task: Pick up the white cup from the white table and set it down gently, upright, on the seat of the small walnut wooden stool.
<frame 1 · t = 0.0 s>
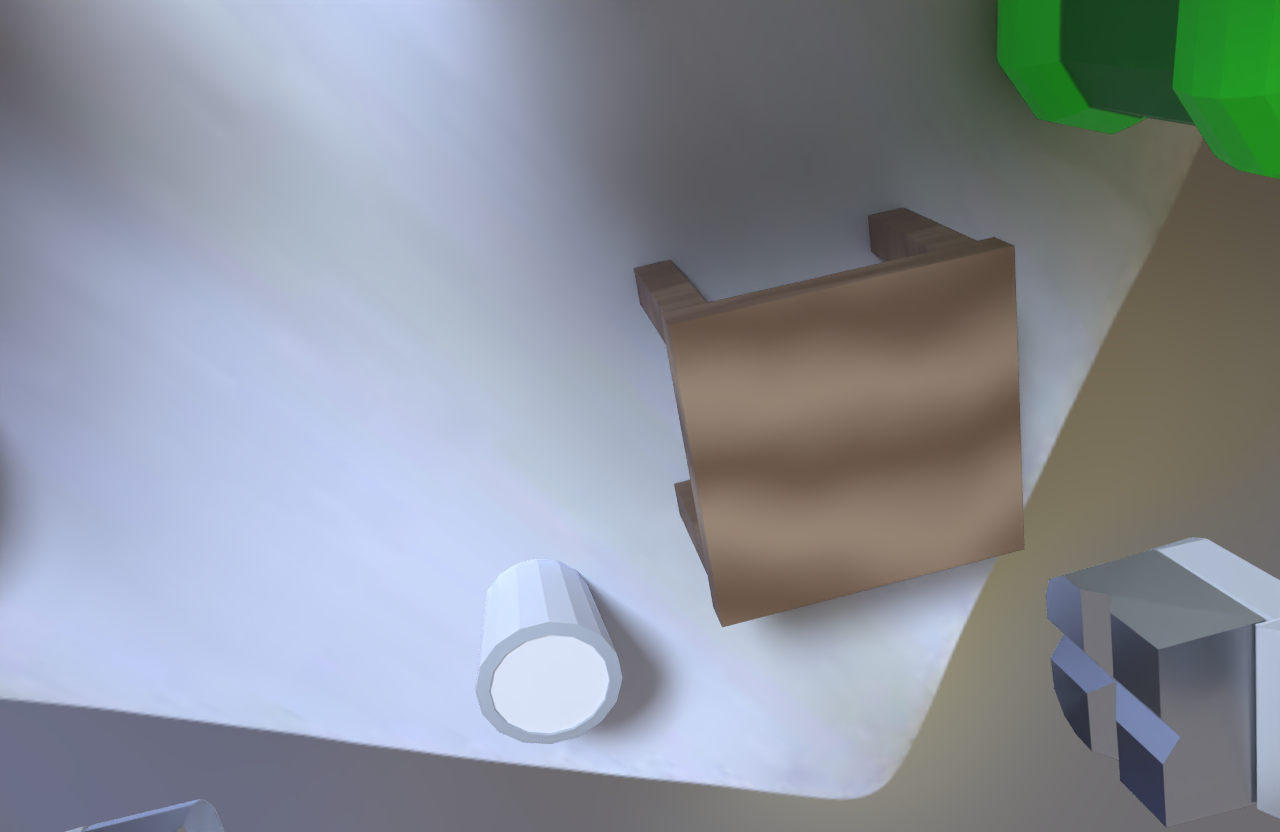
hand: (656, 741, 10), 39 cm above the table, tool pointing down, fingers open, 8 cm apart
plastic bottle: (1059, 13, 47), on the table
white cup: (537, 603, 54), on the table
wooden stool: (787, 366, 51), on the table
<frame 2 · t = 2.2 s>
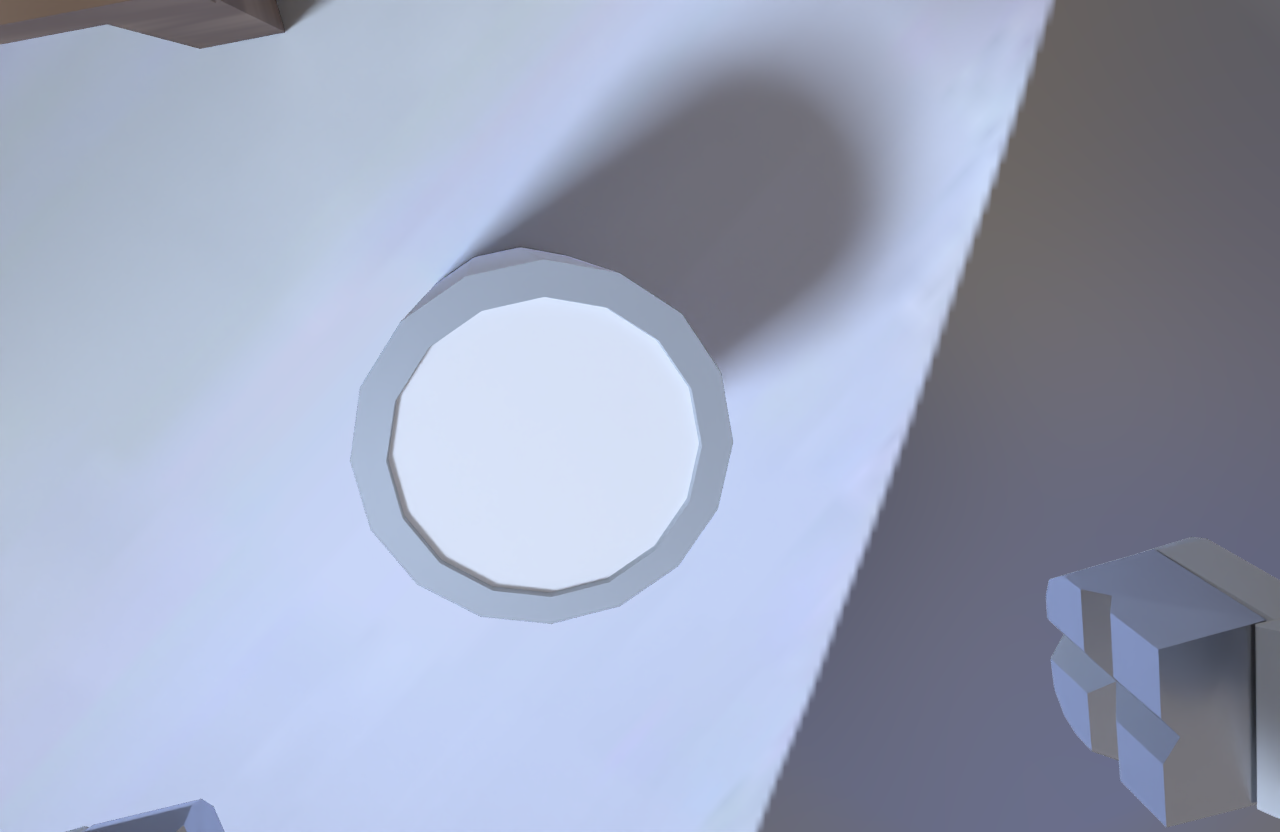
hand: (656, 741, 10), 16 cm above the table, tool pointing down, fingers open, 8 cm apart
white cup: (523, 361, 25), on the table
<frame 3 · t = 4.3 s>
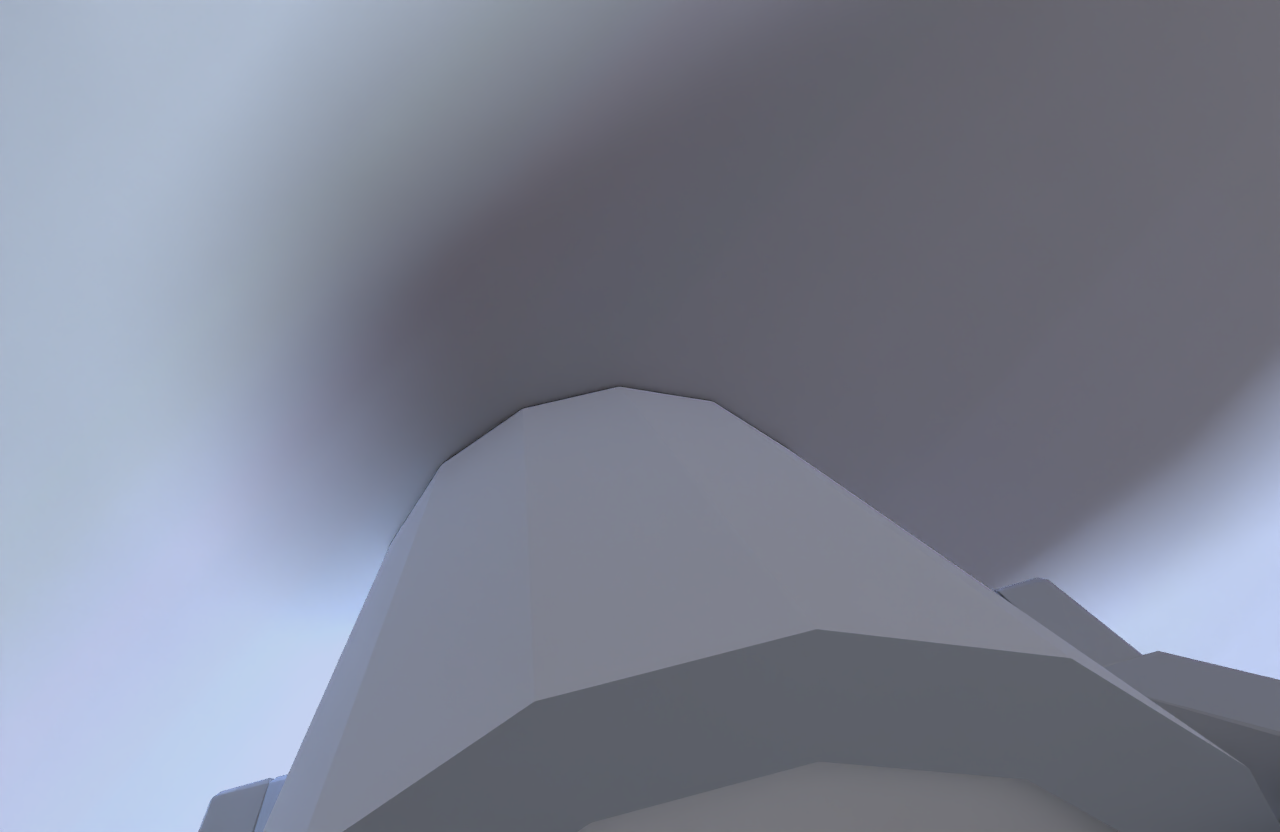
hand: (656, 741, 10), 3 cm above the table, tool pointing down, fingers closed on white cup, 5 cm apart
white cup: (617, 606, 12), on the table, touching gripper
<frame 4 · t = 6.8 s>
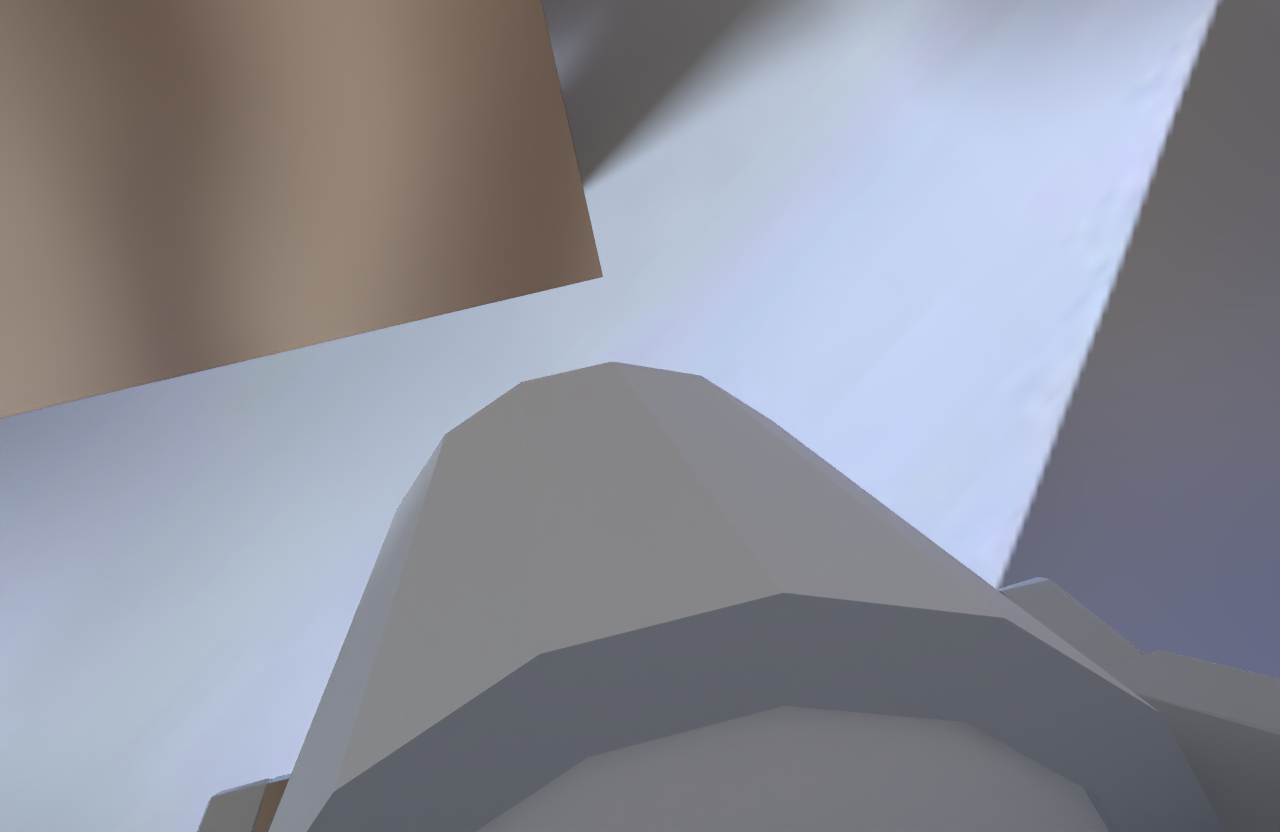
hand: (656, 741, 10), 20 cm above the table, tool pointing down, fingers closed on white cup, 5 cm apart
white cup: (610, 567, 13), point 17 cm above the table, touching gripper
wooden stool: (232, 8, 26), on the table
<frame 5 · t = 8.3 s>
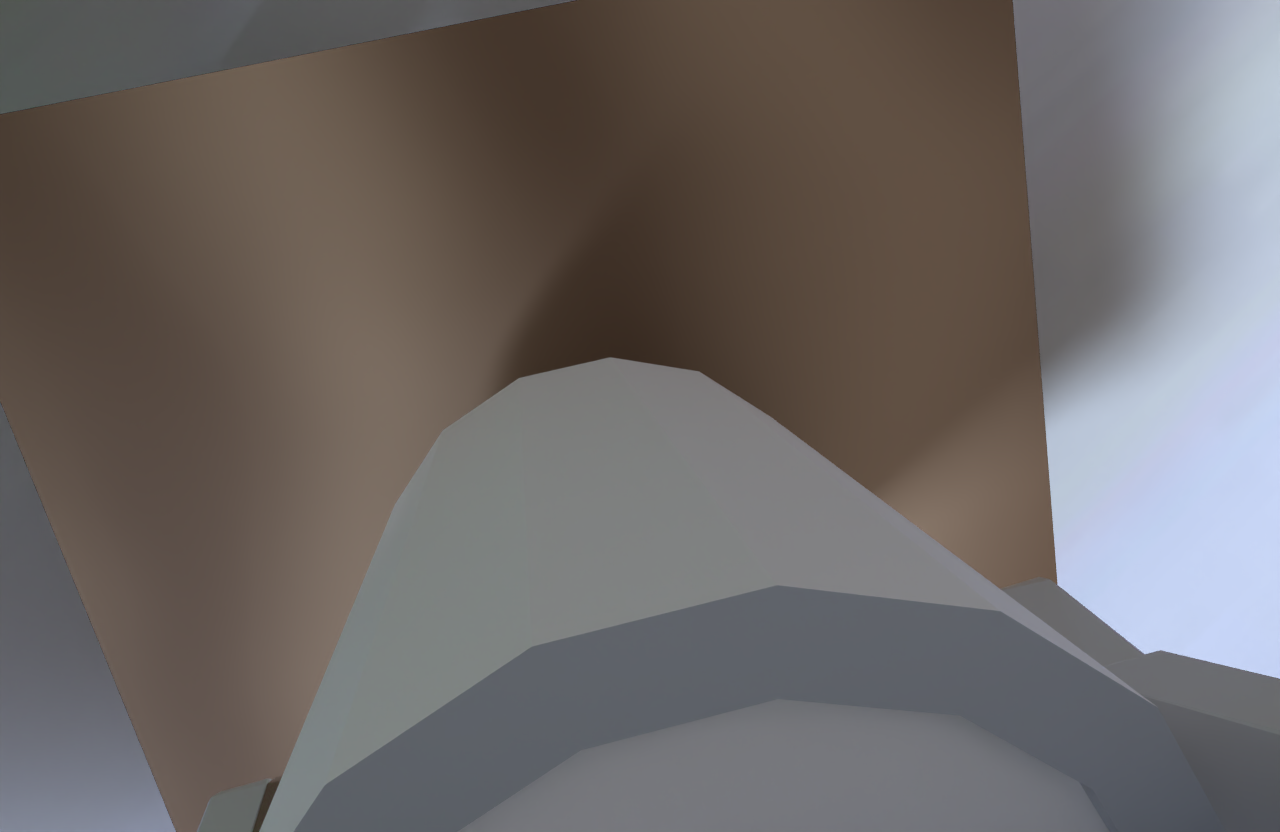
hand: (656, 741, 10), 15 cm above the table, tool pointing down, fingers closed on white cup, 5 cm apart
white cup: (608, 564, 13), point 12 cm above the table, touching gripper
wooden stool: (545, 367, 24), on the table
when the fingers open (14 cm above the table, at t = 9.5 s): white cup stays where it is, point 10 cm above the table.
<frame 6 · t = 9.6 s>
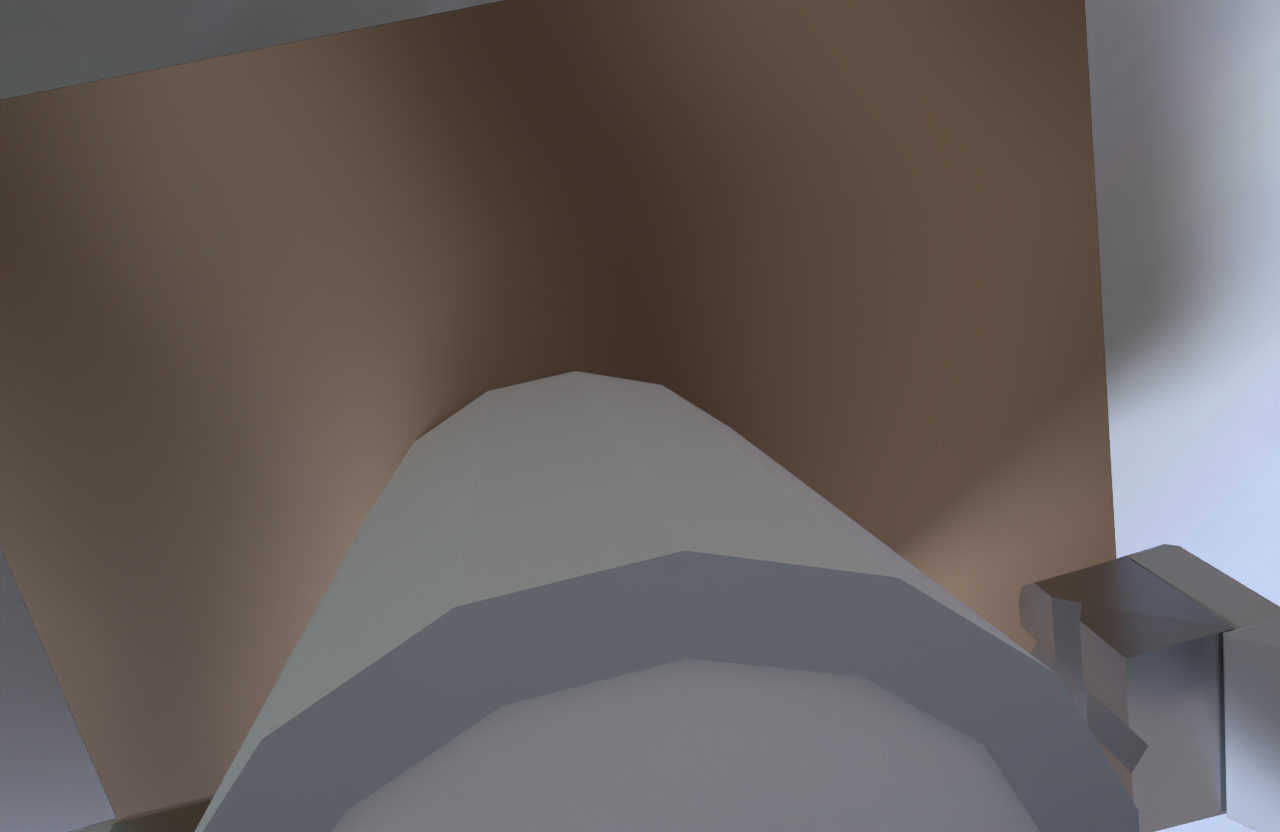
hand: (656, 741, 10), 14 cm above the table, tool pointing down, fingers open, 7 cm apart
white cup: (577, 574, 14), point 10 cm above the table, touching gripper
wooden stool: (556, 380, 23), on the table
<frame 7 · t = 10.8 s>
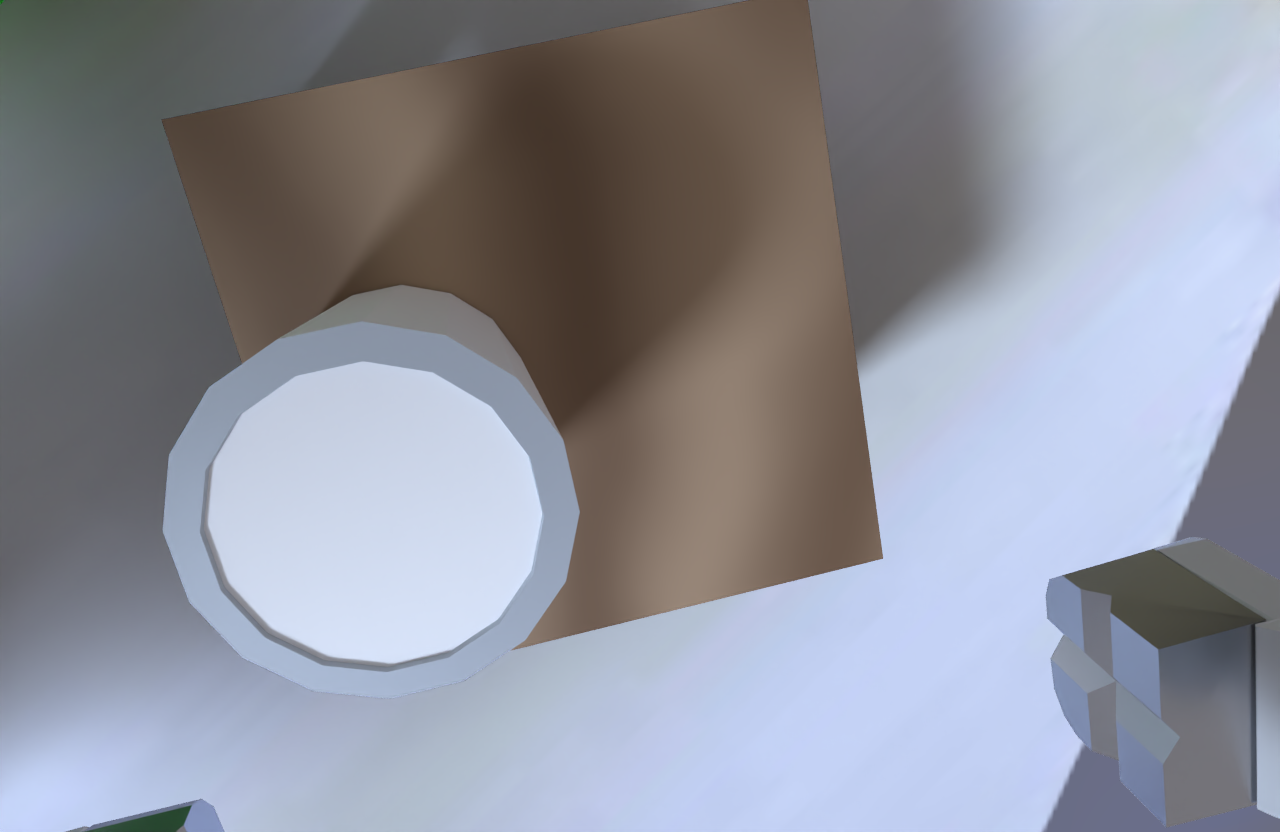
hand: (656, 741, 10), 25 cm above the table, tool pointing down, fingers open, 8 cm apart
white cup: (409, 402, 24), point 10 cm above the table, touching wooden stool
wooden stool: (542, 291, 34), on the table
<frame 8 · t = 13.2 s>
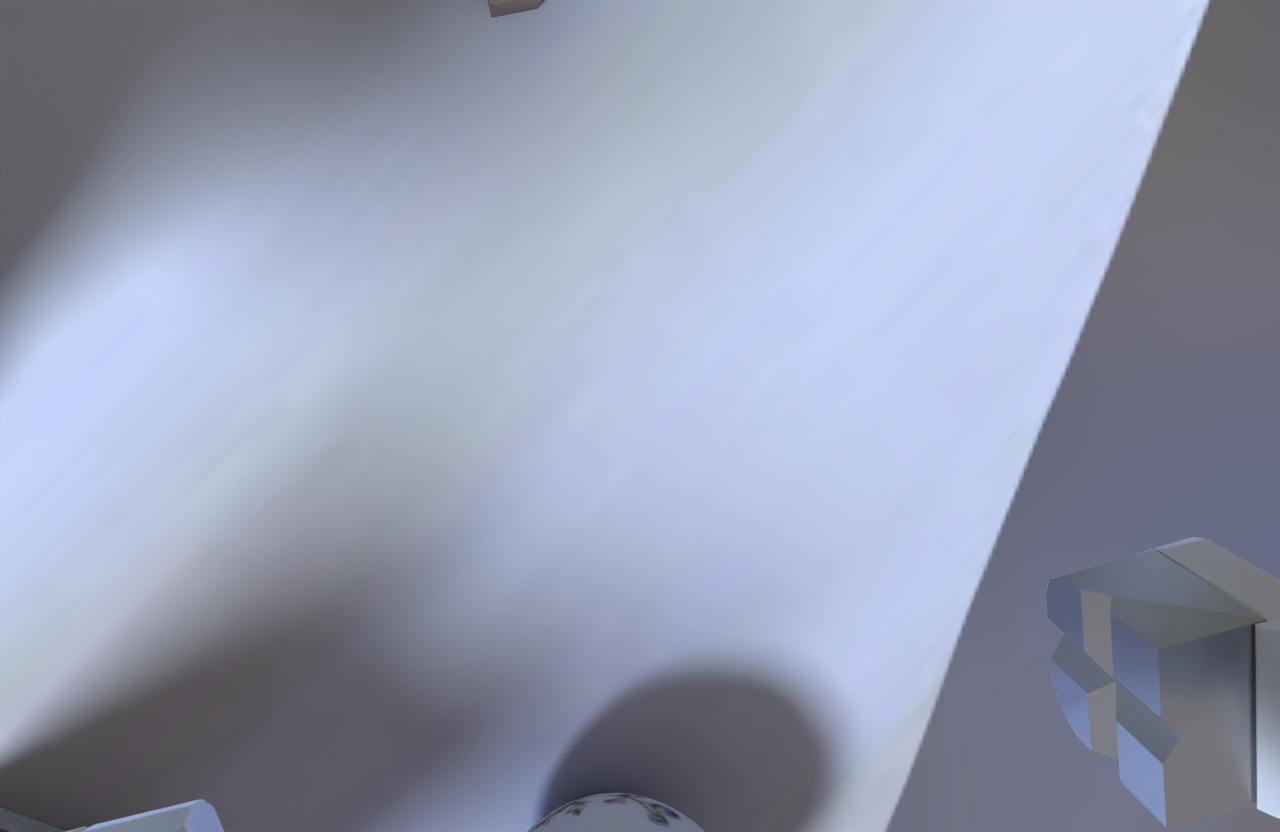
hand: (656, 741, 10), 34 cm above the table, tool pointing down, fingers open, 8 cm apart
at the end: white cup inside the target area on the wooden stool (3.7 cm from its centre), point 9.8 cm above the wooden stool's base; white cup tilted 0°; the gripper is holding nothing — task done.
